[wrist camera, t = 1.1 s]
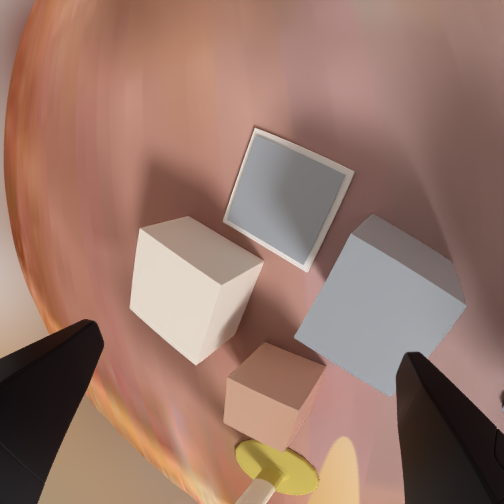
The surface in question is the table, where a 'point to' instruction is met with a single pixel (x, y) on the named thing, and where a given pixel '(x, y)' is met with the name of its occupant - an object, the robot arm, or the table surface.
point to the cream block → (191, 285)
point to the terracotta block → (272, 395)
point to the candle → (273, 472)
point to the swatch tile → (286, 197)
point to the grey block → (382, 304)
